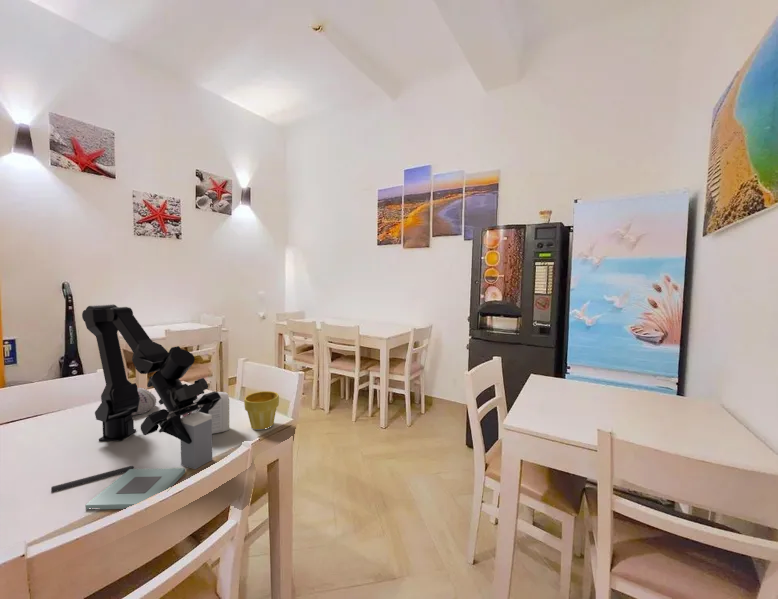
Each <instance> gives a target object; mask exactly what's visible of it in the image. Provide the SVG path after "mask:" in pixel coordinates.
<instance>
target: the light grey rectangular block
mask: <svg viewBox="0 0 778 599" xmlns="http://www.w3.org/2000/svg"><path fill="white" fill-rule="evenodd" d="M181 423H182V424H183V426H184V428H185V429H186V431H187V433H188V434H189V436H190V438H191V440H192V442H191V443H190V444H187V443H185V442H184V441H182V440H180V465H181V466H183V467H185V468H186V467H187V468H189V469H193V470H196V469H199V468H200V467H202V466H203V465H205V464H207V463H209V462H211V461H213V434H212V415H210V414H206V413H202V412H196V413H193V414H192V413H190V414H188V416H186V417H183V416H182V417H181Z"/></svg>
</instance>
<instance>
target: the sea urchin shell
mask: <svg viewBox="0 0 778 599" xmlns="http://www.w3.org/2000/svg"><path fill="white" fill-rule="evenodd" d="M137 390H138V394H139V396H140V401H139V406H138V410H137V412H134V413H132V417H133V416H136V415H138V414H139V415H143V414H145V413H147V412H149V411H150V410H152V409H154V408H155V406H156V405H157V397H156V396H155V395H154V394H153V393H152V391H149V390H148V389H146V388H143V387H137ZM142 413H143V414H142Z"/></svg>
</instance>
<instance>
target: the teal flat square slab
mask: <svg viewBox="0 0 778 599" xmlns="http://www.w3.org/2000/svg"><path fill="white" fill-rule="evenodd" d="M185 473H186V467H181V468H178V467H177V468H175V467H174V468H170V467H169V468H167V467H166V468H134V469H129V470H128V471H127V472H124V473H122V475H121V476H120V477H118V478H117V479H116V480H114V481H113V482H112V483H110V485H108V486H107V487H106V488H105V489H103V490H102V491H101V492H100V493H98V494H97V495H95V497H93V499H91V500H90V501H88V502H87V503H86V504H85V510H86V509H89V508H91V509H92V508H100V509H99V510H124V508H127V507H129V506H132V505H134V504H137V503H139V502H141V501H143V500H145V499H147V498H149V497H151V496H153V495H155V494H157V493H160V492H162V491H164V490H166V489H168V488H169V487H171V486H172V487H174V485H175V484H176V483H177V482H178V481H179V480H180V478H182V477H183V476H184V475H185ZM172 487H171V488H172Z"/></svg>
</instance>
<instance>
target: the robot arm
mask: <svg viewBox="0 0 778 599" xmlns="http://www.w3.org/2000/svg"><path fill="white" fill-rule="evenodd" d="M81 316H82V317H81V318H82V320H83V321H84V323H85V326H86V329H87V330H88V331H89V332H90V333H91V334H93V335H94V336H95V339H96V342H97V349H98V352H99V357H100V362H101V367H102V371H103V376H104V377H103V378H104V380H105V381H104V382H105V385H104V386H105V387H104V389H103V390H102V393H101V395H100V399H101V400H100V401H101V403H100V405H99V406H98V407H97V408H96V410H95V411H94V415H95V416H94V417H95V420H96V421H100V422H102V436H101V437H100V438H98V441H99V442H107V441H109V442H110V441H113V442H117V441H118V442H119V441H121V442H122V441H124V440H125V439H126V438H128V437H130V435H132V434H133V433H135V432H136V431H137V428H135V426H134V425H135V423H134V422H135V421H134V418H133V415H132V413H134V412H137V410H138V406H139V401H140V396H139V394H138V390H137V388H138V386H137V384H136V383H132V382H131V381H130V380H128V377H127V373H126V368H125V362H124V358H123V355H122V354H123V353H122V351H121V350H122V349H121V344H120V339H119V334H120V335H121V336H122V337H123V340H125V342H126V344H127V345H128V346H129V348H130V350H131V352H132V357H131V361H132V363H133V365H134V368H135V370H136V371H137V372H138V373H139V374H141V375H146V374H150V373H151V374H152V373H153V374H152V375H151V376H149V377H148V378H149V379H148V381H147V383H146V386H147V388H151V387H153V388H154V391H155V392H156V393H157V395H158V397H159V401H158V404H159V405H161V406H162V405H164V407H165V408H163V409H159V410H156V411H154V412H151V413H148V415H147V416H146V417H145V419H144V420H143V422H142V423H141V424H140V431H141V433H142V434H143V436H147V435H151V434H153V433H155V432H157V431H158V433H160V434H161V433H165V434H167V435H170V436H173V437H175V438H176V439H178V440H180V441H181V440H182V441H184V442H185V443H187V444H190V443H191V442H192V440H191V438H190V436H189V434H188V433H187V431H186V429H185V428H184V426H183V424H182V423H181V418H182V417H183V416H182V415H184V414H187V413H189V412H192V411H193V412H194V413H196V412H202V413H206V414H209V410H210V409H212V408H213V407H214V406H215V405H216V403H217V402H218V401H219V400H220V399H221V396H220V395H219V393H218V392H219V391H214V390H213V391H210V392H211V393H210V392H207V393H208V394H205V390H207V389H209V384H208V382H207V380H206V379H205V377H202V378H199V379H196V380H194V382H193V383H191V384H189V385H188V384H187V383H184V384H183V383H182V382H181V380H180V379H181V378H183V377H184V376H185V375H186V373H187V372H188V371H189V369H191V367H192V365H194V363H195V359H196V358H195V356H194V354H193V353H192V352H190V351H188V350H186V349H183V348H181V347H180V346H173V347H172V346H171V348H170V349H169V351H168V350H167V349H166V348H165V347H164V346H163V345H161V344H159V343H157V342H155V341H153V340H152V339H151V337H150V336H149V335H148V334H147V332H146V330H145V329H144V328H143V327H142V325H141V324H140V322H139V321H138V320H137V318H136V317H135V316H134V312H133V309H132V308H131V307H129V306H117V305H116V304H100V305H98V304H96V305H88V306H87V307H86V308H85V309H84V310H83V311H82V313H81ZM118 332H119V334H118ZM202 394H205V395H203V396H202V397H201V399H200V400H199V401H198V402H195V403H194V402H193V401H195V400H196V399H197V398H198V397H197V395H202ZM189 408H190V409H189ZM159 427H160V429H159ZM158 429H159V430H158Z"/></svg>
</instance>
